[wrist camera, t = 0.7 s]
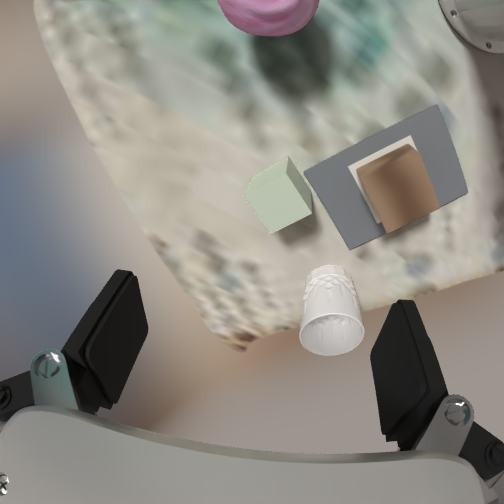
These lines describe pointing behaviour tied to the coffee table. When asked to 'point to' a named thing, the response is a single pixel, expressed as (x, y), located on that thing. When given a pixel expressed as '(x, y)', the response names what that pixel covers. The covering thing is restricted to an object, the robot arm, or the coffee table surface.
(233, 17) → the cupcake
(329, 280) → the white cup
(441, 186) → the mat
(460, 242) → the coffee table surface
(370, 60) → the coffee table surface
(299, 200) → the sage cube
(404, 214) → the walnut base block
